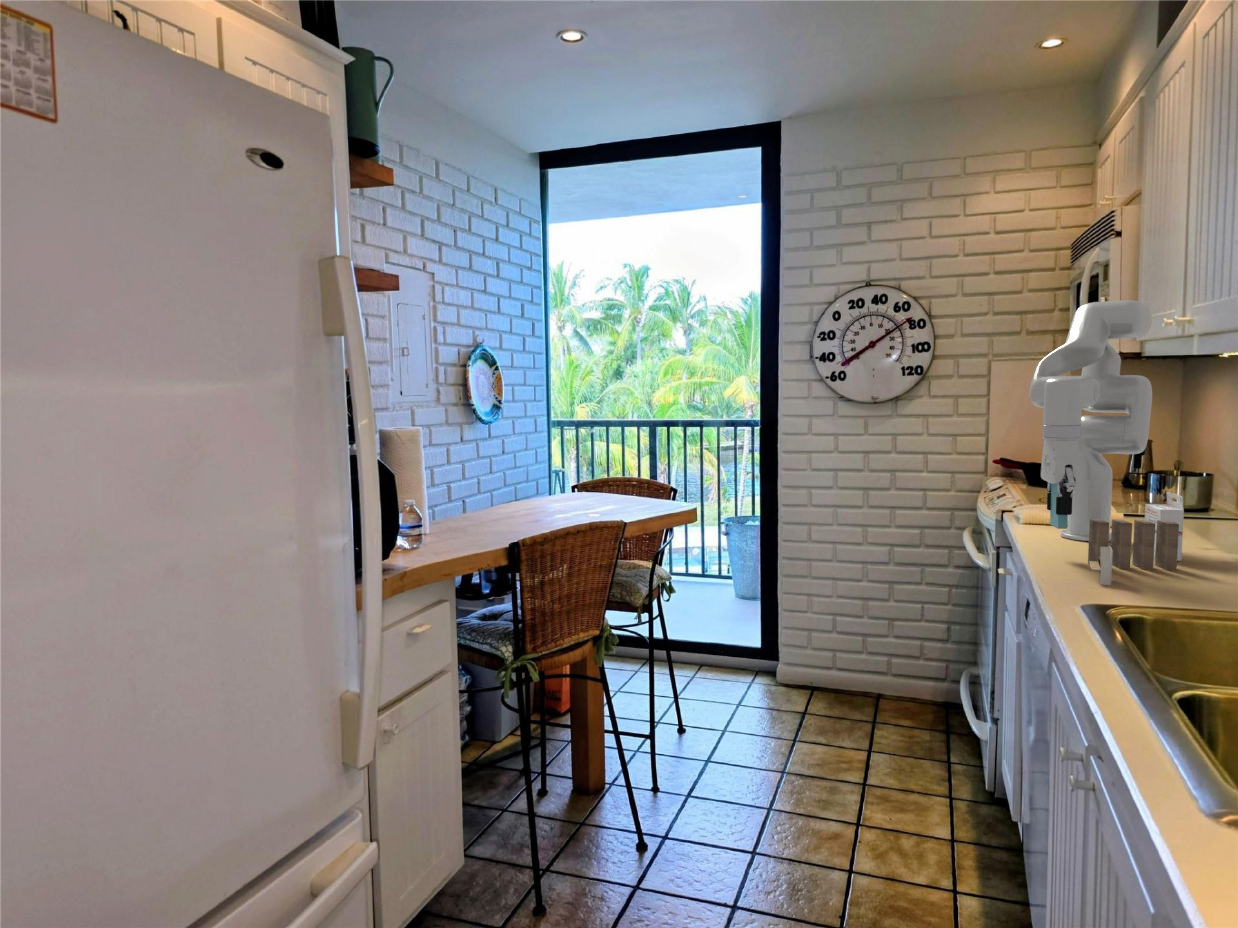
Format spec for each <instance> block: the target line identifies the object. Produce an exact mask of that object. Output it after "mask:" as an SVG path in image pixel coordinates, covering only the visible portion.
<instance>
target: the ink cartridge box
mask: <svg viewBox="0 0 1238 928" xmlns="http://www.w3.org/2000/svg"><path fill="white" fill-rule="evenodd" d="M1173 499H1175V500H1177V501H1175V500H1173ZM1184 516H1185V510H1184V497H1183V495H1180V494H1176V493H1174V492H1169V491H1167V492H1166V503H1164V504H1163V503H1158V504H1157V503H1154V504H1153V503H1145V504H1144V520H1146V521H1149V522H1152V523H1155V542H1154V559H1155V552H1156V533H1157V520H1168V521H1171V522H1174V523H1177V524H1179V533H1178V551H1177V562H1179V561H1180V562H1181V561H1182V556H1183V555H1182V554H1183V553H1182V552H1183V533H1184Z"/></svg>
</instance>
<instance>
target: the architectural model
mask: <svg viewBox="0 0 1238 928" xmlns="http://www.w3.org/2000/svg"><path fill="white" fill-rule="evenodd" d="M1100 551H1101V556H1099V562H1096V561H1090V564H1089V565H1090V568H1091V570H1096V571H1099V585H1103V586H1112V576H1113V575H1112V573H1113V565H1112V556H1113V550H1112V548H1111V545H1108V547H1100Z"/></svg>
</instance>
